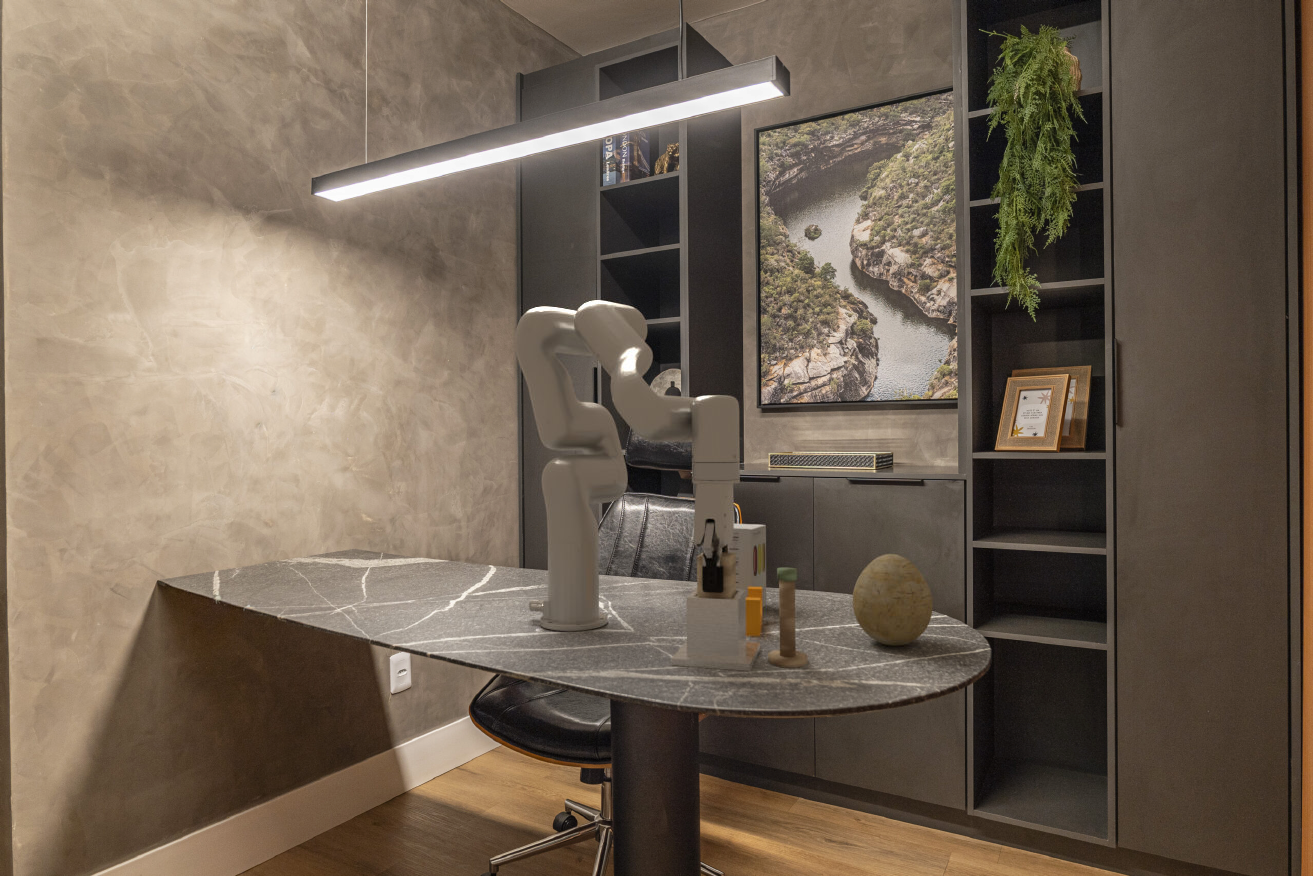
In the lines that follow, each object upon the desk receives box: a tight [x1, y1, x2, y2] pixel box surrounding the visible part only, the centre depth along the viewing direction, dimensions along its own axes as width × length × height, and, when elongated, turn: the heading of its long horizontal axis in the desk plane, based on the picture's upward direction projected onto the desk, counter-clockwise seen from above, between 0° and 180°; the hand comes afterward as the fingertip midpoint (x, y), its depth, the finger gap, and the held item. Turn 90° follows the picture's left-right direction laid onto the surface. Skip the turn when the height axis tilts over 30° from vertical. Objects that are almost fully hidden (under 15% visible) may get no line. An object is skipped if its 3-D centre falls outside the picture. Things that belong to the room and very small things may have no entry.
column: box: [696, 552, 736, 598], centre depth 118 cm, size 6×6×15 cm
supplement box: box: [729, 523, 767, 608], centre depth 153 cm, size 10×9×17 cm
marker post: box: [767, 567, 809, 669], centre depth 115 cm, size 6×6×14 cm
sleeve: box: [670, 587, 761, 672], centre depth 118 cm, size 12×12×10 cm
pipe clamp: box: [746, 587, 764, 637], centre depth 137 cm, size 12×4×6 cm, turn 170°
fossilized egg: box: [852, 553, 934, 647], centre depth 125 cm, size 13×13×15 cm
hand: (716, 587), depth 118 cm, fingers open, 5 cm apart
